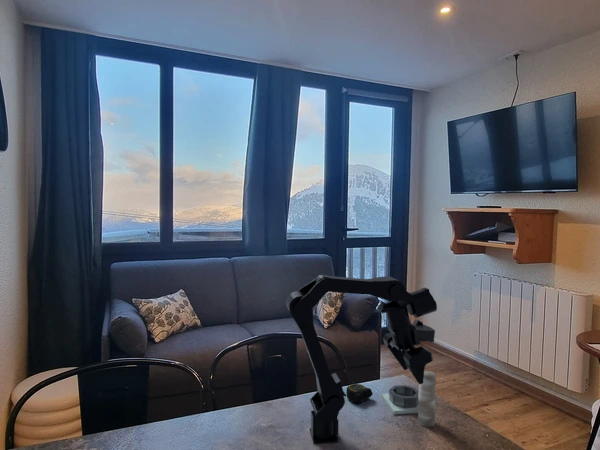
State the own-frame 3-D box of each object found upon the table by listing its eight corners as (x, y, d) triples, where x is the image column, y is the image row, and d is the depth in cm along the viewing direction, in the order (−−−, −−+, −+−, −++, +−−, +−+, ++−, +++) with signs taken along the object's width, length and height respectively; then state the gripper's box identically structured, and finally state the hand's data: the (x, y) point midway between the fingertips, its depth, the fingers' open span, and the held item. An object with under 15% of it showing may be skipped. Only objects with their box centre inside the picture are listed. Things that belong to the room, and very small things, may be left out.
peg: (422, 427, 112) (423, 377, 111) (415, 419, 116) (416, 371, 116) (437, 426, 113) (438, 376, 112) (430, 418, 117) (431, 370, 116)
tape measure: (358, 406, 124) (358, 394, 123) (341, 398, 129) (341, 387, 129) (372, 399, 128) (372, 388, 128) (356, 392, 133) (356, 381, 133)
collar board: (393, 414, 119) (393, 411, 119) (381, 396, 130) (381, 393, 130) (429, 412, 120) (429, 408, 120) (414, 394, 131) (414, 391, 131)
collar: (396, 408, 120) (396, 398, 120) (386, 395, 129) (386, 386, 129) (423, 406, 121) (423, 397, 121) (412, 393, 130) (412, 384, 130)
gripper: (444, 323, 102) (458, 381, 103) (411, 305, 120) (423, 354, 121) (403, 337, 100) (418, 396, 101) (376, 316, 118) (389, 366, 120)
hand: (413, 376), depth 111 cm, fingers open, 9 cm apart
